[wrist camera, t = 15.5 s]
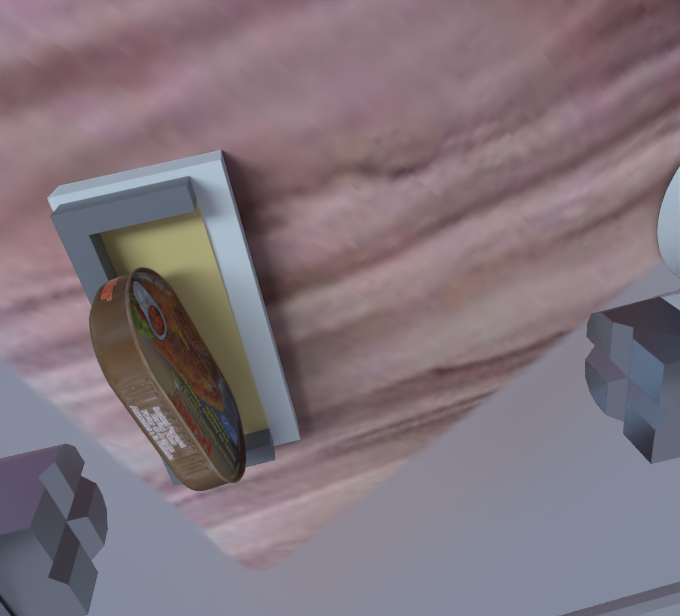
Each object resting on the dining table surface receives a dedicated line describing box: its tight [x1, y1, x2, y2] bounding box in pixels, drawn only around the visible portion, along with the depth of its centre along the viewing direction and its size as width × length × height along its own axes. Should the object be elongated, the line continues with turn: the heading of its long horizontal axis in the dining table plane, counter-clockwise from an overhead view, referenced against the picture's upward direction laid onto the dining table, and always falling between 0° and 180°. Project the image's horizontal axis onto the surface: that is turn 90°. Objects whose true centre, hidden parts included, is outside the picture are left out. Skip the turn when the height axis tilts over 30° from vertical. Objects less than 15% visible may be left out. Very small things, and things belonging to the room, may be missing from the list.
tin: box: [89, 267, 246, 491], centre depth 34 cm, size 15×3×8 cm, turn 19°
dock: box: [47, 150, 300, 486], centre depth 38 cm, size 10×22×4 cm, turn 11°
